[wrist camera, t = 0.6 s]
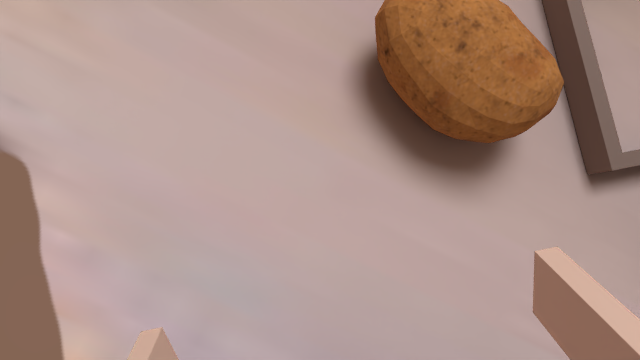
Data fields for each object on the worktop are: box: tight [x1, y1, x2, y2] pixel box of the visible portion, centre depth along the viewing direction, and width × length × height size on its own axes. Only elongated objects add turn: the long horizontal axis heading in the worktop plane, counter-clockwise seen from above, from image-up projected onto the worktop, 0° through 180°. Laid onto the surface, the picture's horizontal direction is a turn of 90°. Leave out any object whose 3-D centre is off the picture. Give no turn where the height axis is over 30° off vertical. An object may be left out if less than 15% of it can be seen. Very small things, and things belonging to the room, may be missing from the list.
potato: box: [375, 0, 564, 143], centre depth 27 cm, size 10×14×8 cm
